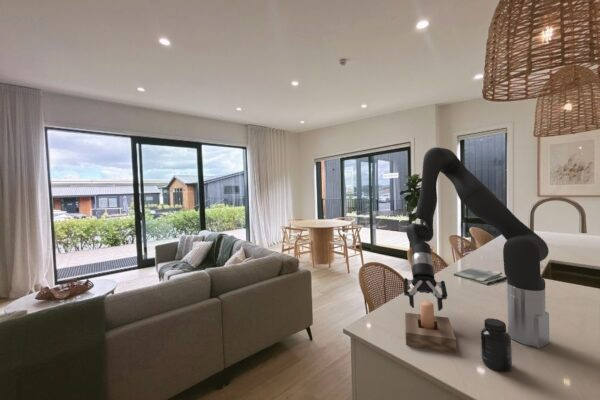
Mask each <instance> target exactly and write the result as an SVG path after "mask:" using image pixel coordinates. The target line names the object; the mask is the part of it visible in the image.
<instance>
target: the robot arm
mask: <svg viewBox="0 0 600 400" xmlns="http://www.w3.org/2000/svg"><path fill="white" fill-rule="evenodd" d="M422 160H423V161H422V174H421V185H420V193H419V198H418V201H417V205H416V210H415V213H414V214H415V218H417V220H418V219H419V220H421V221H423V222H424V223H425V224H420V223H415V222H411V223H409V224H408V225H407V227H406V231H405V232H406V233H405V234H406V236H407V239H408V242H409V244H410V247H411V253H412V254H411V257H412V258H411V266H412V267H411V268H412V270H411V271H412V279H408V278H404V281H403V295H404V296H405V297H406V296H407V297H408V298H409V299H408V300H409V306H410V307H411V308H412V309H414V308H415V302H414V299H415V298H414V296H415V295H417V294H418V292H419V293H421V294H422V293H425V294H432V296H434V297H435V298H436V303H437V304H436V305H437V311H438V312H440V311H441V310H443V300H447V298H448V293H447V287H446V286H447V285H446V282H445V281H444V280H441V281H436V279H435V270H434V263H433V258H432V250H431V246H430V244H429V243H427V242H430V241H432V240H433V237H434V216H435V212H436V209H437V205H438V204H437V203H438V192H437V191H438V190H437V183H438V178H439V175H440V173H441V174H443V175H444V176H445V177H446V178H447V179H448V180H449V181H450V182H451V183H452V184H453V186H454V189H455V191H456V194H457V196H458V199H459V200H460V201H461V202H462V204H463V205H465V207H466V208H467V209H468V210H469V211H470V212H471V213H472V215H474V216H475V217H477V218H478V219H480V220H482V221H483V222H485V223H486V224H488V225H490V226H491V227H493V228H494V229H495V230H496V231H498V232H499V233H500V234H501V236H502V237H503V238H505V240H506V241H505V243H503V244H504V245H503V251H502V257H503V258H502V259H503V270H504V271H503V272H504V276H506V277H507V279H506V288H507V289H506V291H507V294H506V295H507V333H508V334H509V335H510V337H511V340H513V341H516V342H518V343H519V344H523V345H525V346H531V347H535V348H537V349H540V348H543V347H544V346H546V345H548V344H550V313H549V312H548V311H546V309H547V308H546V280H545V278H543V276H542V273H541V262H543V261H544V260H545V259H546V258H547V257H548V255H549V246H548V244H547V242H546V240H544V239H543V238H542V237H541V236H539V234H537V233H536V232H534V230H532V229H531V228H529V227H528V226H527V225H526V224H525V223H523V222H522V221H521V220H520V219H519V218H517V216H515V214H514V213H513V212H512V211H511V210H510V209H509V208H508V207H507V206H506V205H505V204H504V203H503V202H502V201H501V200H500V199H499V198H498V197H497V195H495V194H494V193H493V192H492V190H490V188H488V187H487V186H486V185H485V183H483V182H481V180H480V179H479V178H478V177H476V176H475V175H474V174H473V173H472V172H470V170H468V169H467V167H466V166H465V165H464V164H463V163H462V161H461V160H460V159H459V157H458V156H457V155H456V154H455V153H454V151H452V150H451V149H449V148H445V147H431V148H429V149H428V150H427V151H426V152H425V154H424V157H423V159H422ZM411 284H412V286H413V287H412V289H411V290H410V291H408V290H409V289H408V287H409V286H410V285H411ZM437 286H438V288H439V289H440V290H441V293H442V294H441V293H440V292H439V291H438V289H437V288H436V287H437Z"/></svg>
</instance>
